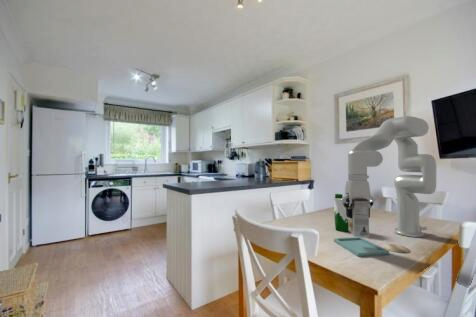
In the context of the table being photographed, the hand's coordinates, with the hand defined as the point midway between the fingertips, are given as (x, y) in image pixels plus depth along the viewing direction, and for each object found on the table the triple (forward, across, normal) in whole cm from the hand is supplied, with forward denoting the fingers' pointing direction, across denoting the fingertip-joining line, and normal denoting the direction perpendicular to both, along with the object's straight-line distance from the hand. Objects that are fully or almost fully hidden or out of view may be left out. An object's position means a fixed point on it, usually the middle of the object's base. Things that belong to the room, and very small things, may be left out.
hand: (358, 217), depth 101 cm
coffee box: (+8, 0, 0) cm, 8 cm away
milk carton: (+14, -10, -27) cm, 32 cm away
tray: (+14, -1, -1) cm, 14 cm away
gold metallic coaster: (+14, -16, +3) cm, 22 cm away
